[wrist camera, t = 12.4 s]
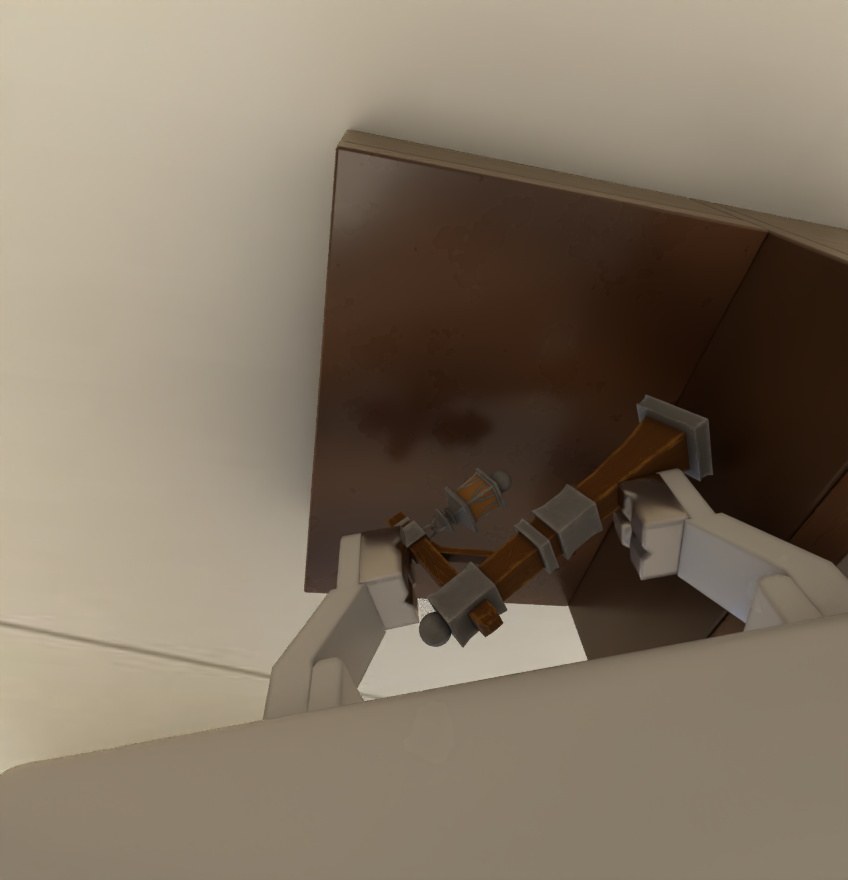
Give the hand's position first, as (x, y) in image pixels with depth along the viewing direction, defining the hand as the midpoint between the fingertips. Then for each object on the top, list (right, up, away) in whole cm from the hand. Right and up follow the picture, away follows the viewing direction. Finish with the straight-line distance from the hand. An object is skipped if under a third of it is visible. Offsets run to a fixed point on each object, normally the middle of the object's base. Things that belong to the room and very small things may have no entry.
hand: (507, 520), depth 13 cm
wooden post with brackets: (+1, +1, +2) cm, 2 cm away
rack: (+2, +4, +6) cm, 8 cm away
